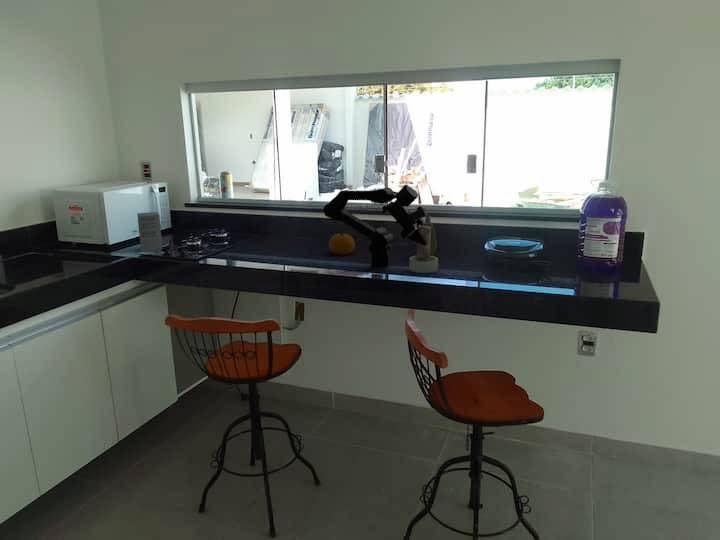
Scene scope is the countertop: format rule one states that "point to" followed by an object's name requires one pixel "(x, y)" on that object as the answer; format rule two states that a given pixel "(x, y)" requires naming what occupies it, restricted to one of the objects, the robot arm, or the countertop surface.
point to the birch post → (422, 250)
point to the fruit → (341, 244)
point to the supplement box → (149, 231)
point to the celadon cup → (423, 265)
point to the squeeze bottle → (433, 235)
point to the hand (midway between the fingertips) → (427, 243)
